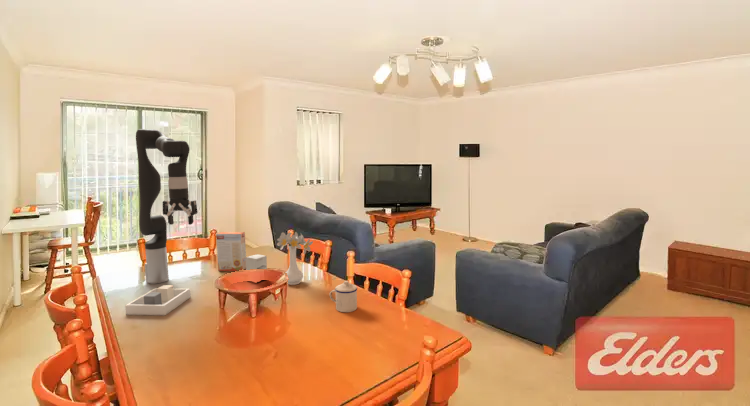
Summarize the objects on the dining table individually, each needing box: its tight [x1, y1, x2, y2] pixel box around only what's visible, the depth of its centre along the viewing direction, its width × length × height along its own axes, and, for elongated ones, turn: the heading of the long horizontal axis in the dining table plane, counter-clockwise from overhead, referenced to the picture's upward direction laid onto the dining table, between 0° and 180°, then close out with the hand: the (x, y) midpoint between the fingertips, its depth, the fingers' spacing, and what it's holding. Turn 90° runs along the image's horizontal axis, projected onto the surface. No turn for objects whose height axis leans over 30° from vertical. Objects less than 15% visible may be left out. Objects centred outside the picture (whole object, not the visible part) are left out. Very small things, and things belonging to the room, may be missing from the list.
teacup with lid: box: [328, 280, 358, 313], centre depth 165 cm, size 12×9×12 cm
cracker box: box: [215, 231, 247, 272], centre depth 219 cm, size 14×6×21 cm, turn 84°
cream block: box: [156, 284, 174, 302], centre depth 174 cm, size 4×4×6 cm
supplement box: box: [245, 254, 268, 270], centre depth 201 cm, size 7×7×13 cm
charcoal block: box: [144, 292, 162, 305], centre depth 165 cm, size 4×4×6 cm
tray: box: [124, 287, 191, 316], centre depth 169 cm, size 16×20×4 cm
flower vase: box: [276, 231, 314, 286], centre depth 196 cm, size 13×18×25 cm
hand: (180, 224), depth 175 cm, fingers open, 8 cm apart
